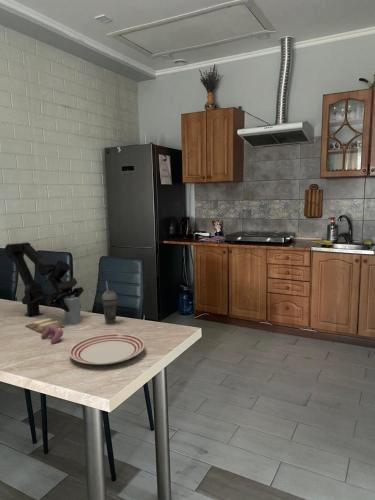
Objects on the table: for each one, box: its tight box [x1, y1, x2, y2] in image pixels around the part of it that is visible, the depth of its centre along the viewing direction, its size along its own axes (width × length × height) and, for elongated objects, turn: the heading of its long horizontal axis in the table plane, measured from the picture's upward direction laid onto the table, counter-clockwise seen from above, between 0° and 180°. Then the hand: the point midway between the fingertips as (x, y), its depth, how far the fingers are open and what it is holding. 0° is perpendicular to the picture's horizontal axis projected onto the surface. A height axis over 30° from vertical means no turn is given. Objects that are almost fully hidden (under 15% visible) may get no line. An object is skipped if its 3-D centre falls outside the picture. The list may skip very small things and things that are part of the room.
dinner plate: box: [68, 333, 146, 366], centre depth 140 cm, size 28×27×3 cm
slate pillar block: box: [63, 296, 82, 326], centre depth 177 cm, size 5×5×12 cm
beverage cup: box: [101, 280, 118, 325], centre depth 176 cm, size 7×7×20 cm
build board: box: [25, 317, 65, 335], centre depth 172 cm, size 15×11×3 cm
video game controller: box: [40, 325, 64, 345], centre depth 155 cm, size 10×5×7 cm, turn 47°
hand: (74, 309), depth 176 cm, fingers open, 7 cm apart
